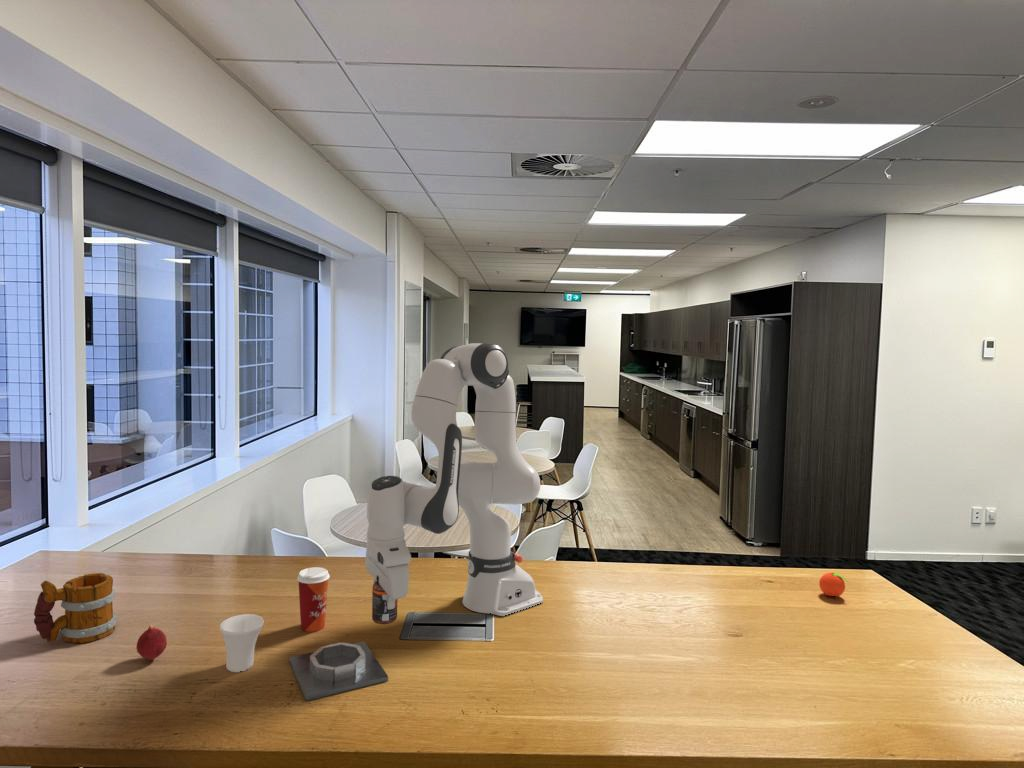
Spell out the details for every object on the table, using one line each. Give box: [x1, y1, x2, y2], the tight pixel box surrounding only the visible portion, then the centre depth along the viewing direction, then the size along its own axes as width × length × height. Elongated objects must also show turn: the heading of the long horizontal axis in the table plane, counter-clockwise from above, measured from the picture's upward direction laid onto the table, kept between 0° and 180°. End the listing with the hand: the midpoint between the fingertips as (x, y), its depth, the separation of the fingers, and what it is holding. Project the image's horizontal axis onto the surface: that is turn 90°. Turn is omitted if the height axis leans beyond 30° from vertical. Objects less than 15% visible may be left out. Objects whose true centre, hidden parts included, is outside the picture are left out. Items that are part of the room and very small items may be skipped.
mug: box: [33, 572, 118, 644], centre depth 151 cm, size 11×16×15 cm, turn 137°
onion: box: [135, 624, 168, 661], centre depth 143 cm, size 6×6×8 cm
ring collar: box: [288, 641, 389, 702], centre depth 141 cm, size 17×17×4 cm
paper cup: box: [296, 566, 331, 633], centre depth 161 cm, size 8×8×14 cm
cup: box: [219, 613, 265, 673], centre depth 142 cm, size 9×9×10 cm
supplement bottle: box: [371, 575, 398, 625], centre depth 155 cm, size 6×6×11 cm
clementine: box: [818, 572, 850, 598], centre depth 192 cm, size 8×7×7 cm
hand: (384, 601), depth 155 cm, fingers closed on supplement bottle, 6 cm apart
